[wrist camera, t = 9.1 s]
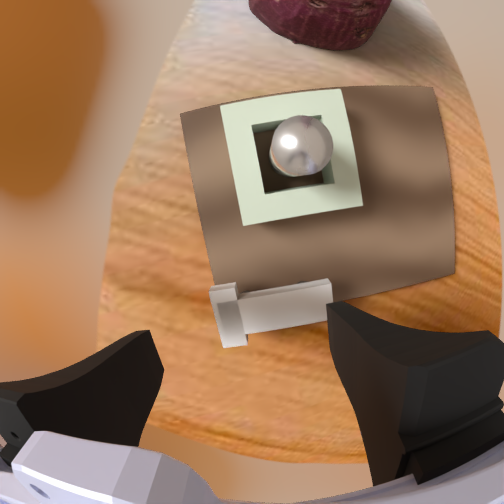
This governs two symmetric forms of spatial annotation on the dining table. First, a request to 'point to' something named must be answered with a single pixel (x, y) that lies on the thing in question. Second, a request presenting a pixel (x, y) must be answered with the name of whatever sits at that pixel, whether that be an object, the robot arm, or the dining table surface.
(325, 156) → the pin
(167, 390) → the dining table surface
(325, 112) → the square hollow frame
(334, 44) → the vegetable
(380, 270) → the board
